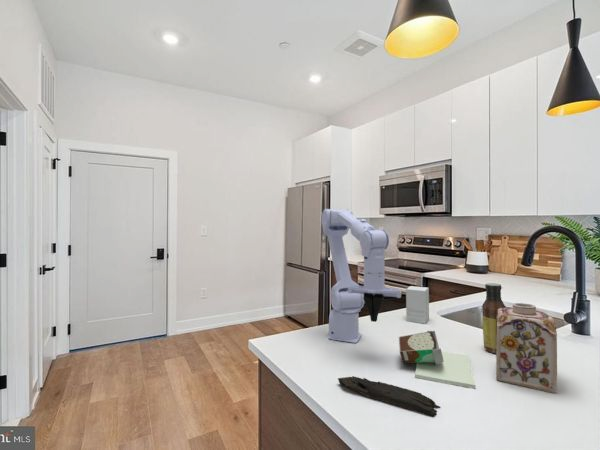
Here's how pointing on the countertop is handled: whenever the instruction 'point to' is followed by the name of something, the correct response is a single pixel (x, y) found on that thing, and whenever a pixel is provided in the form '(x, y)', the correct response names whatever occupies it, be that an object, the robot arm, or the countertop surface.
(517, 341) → the decorative jar
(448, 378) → the board
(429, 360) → the food container
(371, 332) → the countertop surface
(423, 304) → the supplement box
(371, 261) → the robot arm
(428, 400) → the wood
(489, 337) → the sauce bottle
